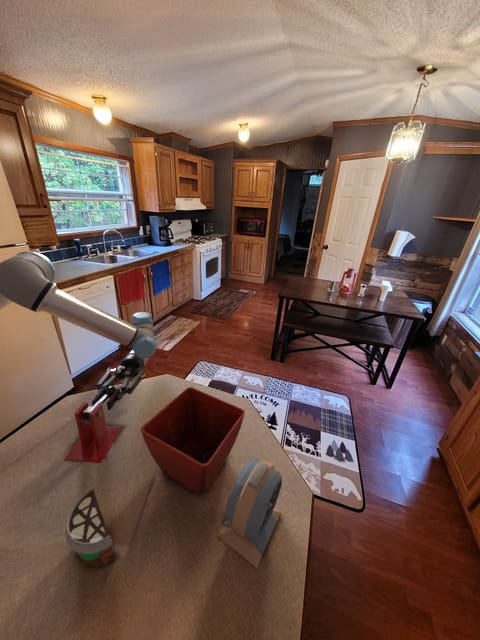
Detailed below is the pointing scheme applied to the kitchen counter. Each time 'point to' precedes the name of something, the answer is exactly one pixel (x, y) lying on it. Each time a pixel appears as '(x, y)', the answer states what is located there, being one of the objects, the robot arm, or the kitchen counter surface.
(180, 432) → the flower pot
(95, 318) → the robot arm
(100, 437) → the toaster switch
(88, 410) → the lever
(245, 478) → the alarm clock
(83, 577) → the kitchen counter surface
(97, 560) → the multicoloured piece
